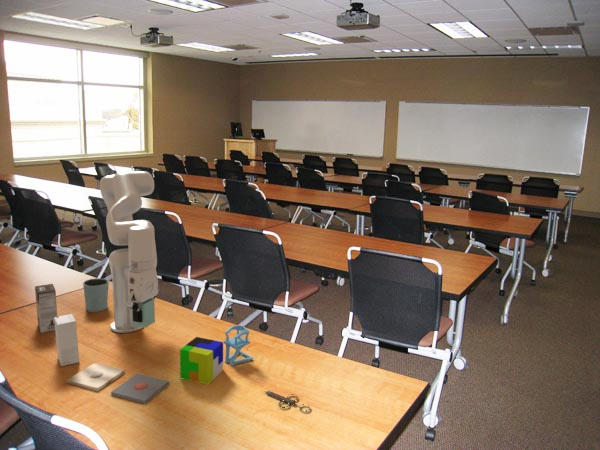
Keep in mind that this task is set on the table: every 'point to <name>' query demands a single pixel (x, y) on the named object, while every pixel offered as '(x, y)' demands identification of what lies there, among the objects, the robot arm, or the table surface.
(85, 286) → the teal cup
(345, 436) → the table surface
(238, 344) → the chair
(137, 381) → the slate mat
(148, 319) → the teal block
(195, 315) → the table surface
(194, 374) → the puzzle toy
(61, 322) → the skincare box
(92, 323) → the table surface
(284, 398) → the syringe
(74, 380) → the birch pad
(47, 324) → the coffee box
